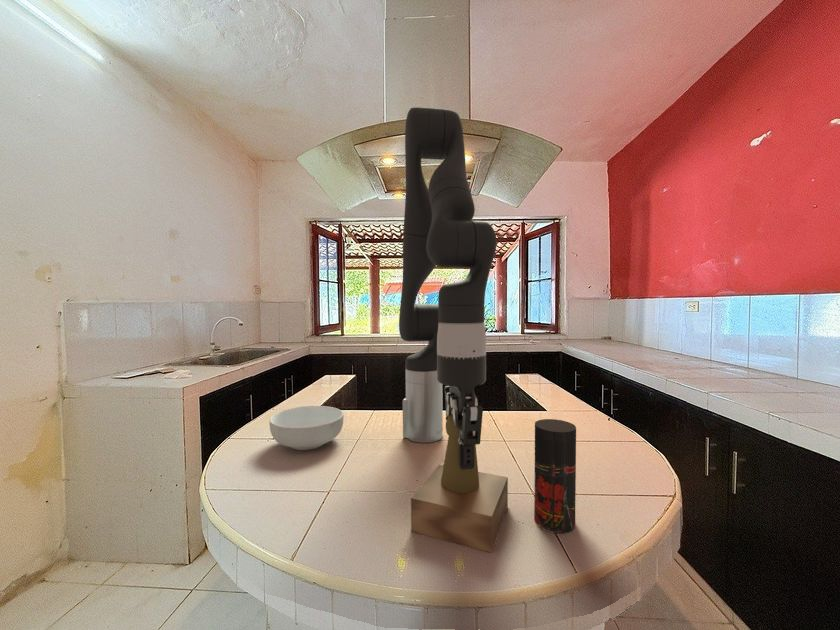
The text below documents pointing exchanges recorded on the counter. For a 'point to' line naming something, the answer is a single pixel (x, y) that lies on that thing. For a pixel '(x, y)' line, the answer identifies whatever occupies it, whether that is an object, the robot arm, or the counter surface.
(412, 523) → the walnut block
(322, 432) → the cereal bowl
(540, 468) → the deodorant
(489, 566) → the counter surface
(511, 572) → the counter surface
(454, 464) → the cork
